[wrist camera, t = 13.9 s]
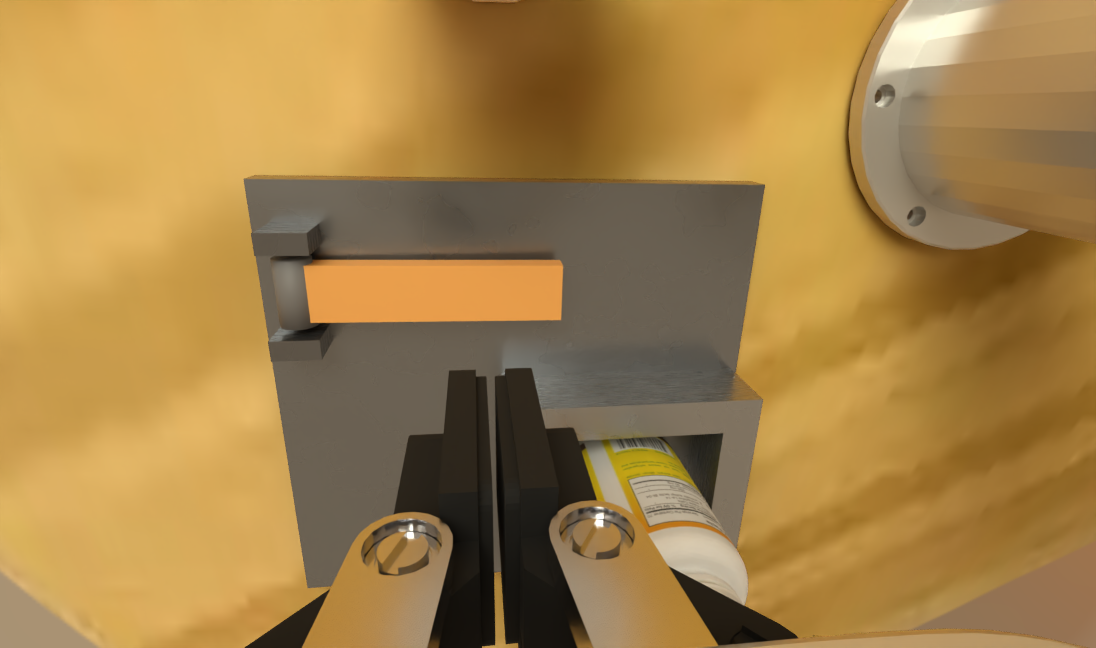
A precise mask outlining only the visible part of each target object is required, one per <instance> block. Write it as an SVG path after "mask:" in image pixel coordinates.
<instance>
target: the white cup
mask: <svg viewBox="0 0 1096 648" xmlns="http://www.w3.org/2000/svg"><path fill="white" fill-rule="evenodd" d="M472 1H475V2H510V3H516V2H518V1H520V0H472Z"/></svg>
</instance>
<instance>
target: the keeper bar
mask: <svg viewBox="0 0 1096 648" xmlns="http://www.w3.org/2000/svg"><path fill="white" fill-rule="evenodd" d="M270 261H271V268H272V275H273V282H274V288H275V295H276V302H277V309H278V315H279V322H280V327H281V328H282V329H285V330H294V331H295V330H305V329H309V328H313V327H315V326H317V325H318V324H319V323H350V322H439V321H528V320H561V309H562V282H563V265H562V263H561V261H560V260H312V256H311V255H309V256H273V257H271V258H270Z"/></svg>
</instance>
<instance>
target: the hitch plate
mask: <svg viewBox="0 0 1096 648" xmlns="http://www.w3.org/2000/svg"><path fill="white" fill-rule="evenodd" d="M244 184H245V191H246V197H247V204H248V210H249V216H250V223H251V229H252V233H251V236H252V243H253V249H254V256H256V261H257V267H258V274H259V280H260V287H261V293H262V299H263V306H264V312H265V318H266V325H267V331H268V338H269V341H268V344H269V351H270V357H271V362H272V363H273V369H274V376H275V382H276V389H277V395H278V401H279V408H280V414H281V420H282V427H283V433H284V440H285V446H286V452H287V459H288V465H289V471H290V478H291V484H292V491H293V497H294V503H295V510H296V516H297V523H298V529H299V535H300V542H301V548H302V554H303V561H304V567H305V574H306V580H307V586H308V588H315V587H327V586H332V584H333V582H334V580H335V578H336V576H337V574H338V572H339V570H340V568H341V566H342V564H343V562H344V560H345V558H346V556H347V553H348V551H349V549H350V547H351V545H352V543H353V542H354V540H355V539H356V538H357V536H358V535H359V533H360V532H362V531H363V530H364V529H365V528H367V527H368V526H369V525H370V524H372V523H374V522H376V521H378V520H380V519H382V518H384V517H387V516H390V515H394V509H395V504H396V499H397V494H398V489H399V483H400V478H401V473H402V468H403V463H404V457H405V452H406V447H407V442H408V438H409V436H410V435H421V434H442V433H444V422H445V410H446V399H447V387H448V376H449V370H476V377H477V376H486V377H487V396H488V414H489V433H490V451H491V470H492V491H493V539H494V572H501V562H500V546H499V530H498V514H497V496H496V433H495V376H505V369H507V368H532V372H533V376H534V381H535V385H536V389H537V394H538V398H539V402H540V407H541V411H542V416H543V420H544V424H545V429H546V428H567V427H573V428H574V430H575V432H576V435H577V438H578V442H579V441H588V440H606V439H625V438H644V437H663V438H664V439H665V440H666V441H667V442H668V443H669V445H670V446H671V447H672V449H673V450H674V452H675V454H676V455H677V457H678V458H679V460H680V462H681V463H682V465H683V466H684V468H685V469H686V471H687V472H688V474H689V476H690V477H691V479H692V480H693V482H694V484H695V485H696V487H697V488H698V490H699V491H700V493H701V494H702V496H703V497H704V499H705V500H706V502H707V504H708V505H709V507H710V509H711V510H712V512H713V513H714V515H715V517H716V518H717V520H718V521H719V523H720V524H721V526H722V528H723V529H724V531H725V532H726V534H727V535H728V537H729V539H730V540H731V542H732V543H733V545H734V546H735V548H737V542H738V537H739V531H740V525H741V520H742V514H743V509H744V503H745V498H746V492H747V486H748V481H749V475H750V470H751V464H752V459H753V453H754V447H755V442H756V436H757V431H758V425H759V419H760V414H761V408H762V403H763V399H762V398H761V397H760V396H759V395H758V394H757V393H756V392H755V391H754V390H753V389H752V388H751V387H750V386H748V385H747V384H746V383H745V382H744V381H743V380H742V379H741V378H740V377H739V376H738V375H737V374H736V373H735V372H736V366H737V360H738V353H739V347H740V341H741V334H742V328H743V321H744V315H745V309H746V302H747V296H748V290H749V283H750V277H751V271H752V264H753V258H754V252H755V245H756V239H757V233H758V226H759V220H760V213H761V207H762V201H763V194H764V188H765V185H764V184H760V183H756V182H752V181H677V180H595V179H513V178H432V177H350V176H268V175H254V176H251V177H248V178H245V179H244ZM309 255H311V256H312V260H560V261H561V263H562V265H563V282H562V309H561V320H528V321H439V322H350V323H319V324H318V325H317V326H315V327H313V328H309V329H305V330H295V331H294V330H285V329H282V328H281V327H280V322H279V315H278V309H277V302H276V295H275V288H274V282H273V275H272V268H271V261H270V258H271V257H273V256H309Z"/></svg>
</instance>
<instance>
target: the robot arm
mask: <svg viewBox="0 0 1096 648" xmlns="http://www.w3.org/2000/svg"><path fill="white" fill-rule="evenodd" d="M849 144H850V155H851V163H852V166H853V170H854V173H855V176H856V180H857V183H858V186H859V188H860V190H861V192H862V194H863V196H864V197H865V199H866V201H867V203H868V205H869V206H870V208H871V209H872V210H873V211H874V213H875V214H876V215H877V216H878V217H879V218H880V219H881V220H882V221H883V222H884V223H885V225H887V226H888V227H890V228H891V229H893V230H894V231H896V232H897V233H899V234H901V235H902V236H904V237H906V238H909V239H912V240H915V241H918V242H920V243H923V244H926V245H930V246H935V247H939V248H944V249H949V250H973V249H978V248H983V247H988V246H992V245H997V244H1000V243H1002V242H1005V241H1007V240H1010V239H1012V238H1015V237H1017V236H1020V235H1022V234H1024V233H1026V232H1027V231H1029V230H1033V231H1038V232H1042V233H1047V234H1052V235H1057V236H1061V237H1066V238H1071V239H1076V240H1080V241H1085V242H1090V243H1095V244H1096V0H897V1H896V2H895V4H894V5H893V6H892V7H891V9H890V10H889V11H888V13H887V15H886V16H885V18H884V20H883V22H882V23H881V25H880V27H879V28H878V30H877V32H876V33H875V35H874V37H873V39H872V40H871V42H870V45H869V47H868V50H867V52H866V55H865V57H864V60H863V62H862V65H861V67H860V70H859V72H858V76H857V80H856V84H855V89H854V93H853V97H852V101H851V108H850V121H849ZM495 433H496V496H497V514H498V530H499V546H500V562H501V578H502V594H503V609H504V625H505V641H506V644H512V643H518V648H1087V647H1083V646H1078V645H1074V644H1069V643H1065V642H1061V641H1056V640H1052V639H1047V638H1043V637H1039V636H1034V635H1026V634H1018V633H1010V632H1002V631H994V630H978V629H930V630H929V629H927V630H908V631H888V632H869V633H854V634H844V635H834V636H815V635H813V637H810V638H798V637H797V636H796V635H795V634H794V633H792V632H791V631H789V630H788V629H786V628H785V627H783V626H782V625H780V624H778V623H777V622H775V621H773V620H771V619H769V618H767V617H765V616H763V615H761V614H759V613H757V612H755V611H754V610H752V609H750V608H748V607H746V606H744V605H742V604H740V603H738V602H736V601H734V600H733V599H731V598H729V597H727V596H725V595H723V594H721V593H719V592H717V591H715V590H713V589H712V588H710V587H708V586H706V585H704V584H702V583H700V582H698V581H696V580H694V579H692V578H690V577H689V576H687V575H685V574H683V573H681V572H679V571H677V570H675V569H673V568H671V567H669V566H668V565H667V563H666V562H665V560H664V559H663V557H662V555H661V554H660V552H659V551H658V549H657V547H656V546H655V544H654V543H653V541H652V540H651V538H650V536H649V535H648V533H647V532H646V530H645V528H644V527H643V525H642V524H641V522H640V521H639V520H638V519H637V518H636V517H635V516H634V515H633V514H632V513H631V512H629V511H627V510H626V509H624V508H623V507H620V506H618V505H615V504H612V503H609V502H603V501H597V498H596V495H595V492H594V489H593V486H592V482H591V479H590V476H589V473H588V470H587V467H586V464H585V460H584V457H583V454H582V451H581V448H580V445H579V442H578V438H577V435H576V432H575V430H574V428H573V427H567V428H546V429H545V424H544V420H543V416H542V411H541V407H540V402H539V398H538V394H537V389H536V385H535V381H534V376H533V372H532V368H507V369H505V376H495ZM490 645H495V600H494V539H493V491H492V470H491V451H490V433H489V414H488V396H487V377H486V376H477V377H476V370H449V376H448V387H447V399H446V410H445V422H444V433H442V434H421V435H410V436H409V438H408V442H407V447H406V452H405V457H404V463H403V468H402V473H401V478H400V483H399V489H398V494H397V499H396V504H395V509H394V515H390V516H387V517H384V518H382V519H380V520H378V521H376V522H374V523H372V524H370V525H369V526H368V527H367V528H365V529H364V530H363V531H362V532H360V533H359V535H358V536H357V538H356V539H355V540H354V542H353V543H352V545H351V547H350V549H349V551H348V553H347V556H346V558H345V560H344V562H343V564H342V566H341V568H340V570H339V572H338V574H337V576H336V578H335V580H334V582H333V584H332V586H331V589H330V590H328V591H327V592H325V593H324V594H322V595H321V596H319V597H318V598H316V599H315V600H313V601H312V602H311V603H309V604H308V605H306V606H305V607H303V608H302V609H300V610H299V611H297V612H296V613H294V614H293V615H292V616H290V617H289V618H287V619H286V620H284V621H283V622H281V623H280V624H278V625H277V626H276V627H274V628H273V629H271V630H270V631H268V632H267V633H265V634H264V635H262V636H261V637H259V638H258V639H257V640H255V641H254V642H252V643H251V644H249V645H248V646H246V647H245V648H482V646H490Z"/></svg>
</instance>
